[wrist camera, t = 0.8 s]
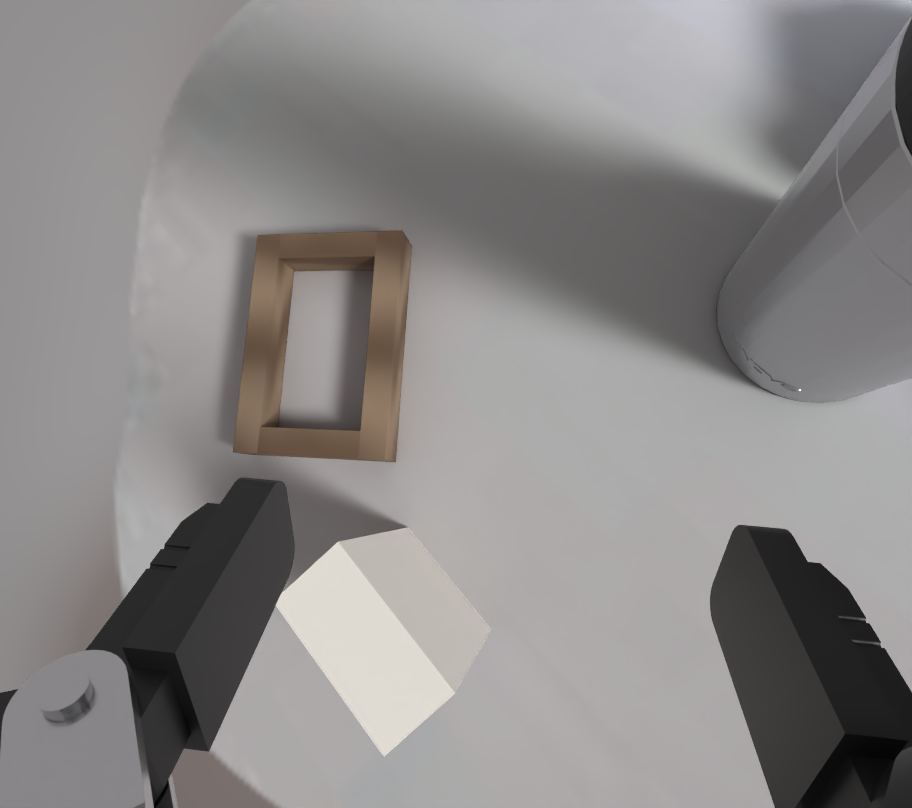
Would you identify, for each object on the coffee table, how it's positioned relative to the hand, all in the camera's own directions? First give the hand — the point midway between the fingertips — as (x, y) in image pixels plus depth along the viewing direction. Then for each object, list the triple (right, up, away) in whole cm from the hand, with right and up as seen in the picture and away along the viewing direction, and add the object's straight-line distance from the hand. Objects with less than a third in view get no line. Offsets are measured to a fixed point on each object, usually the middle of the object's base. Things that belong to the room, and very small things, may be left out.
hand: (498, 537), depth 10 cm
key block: (-2, -8, +21) cm, 23 cm away
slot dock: (-8, +6, +24) cm, 26 cm away
